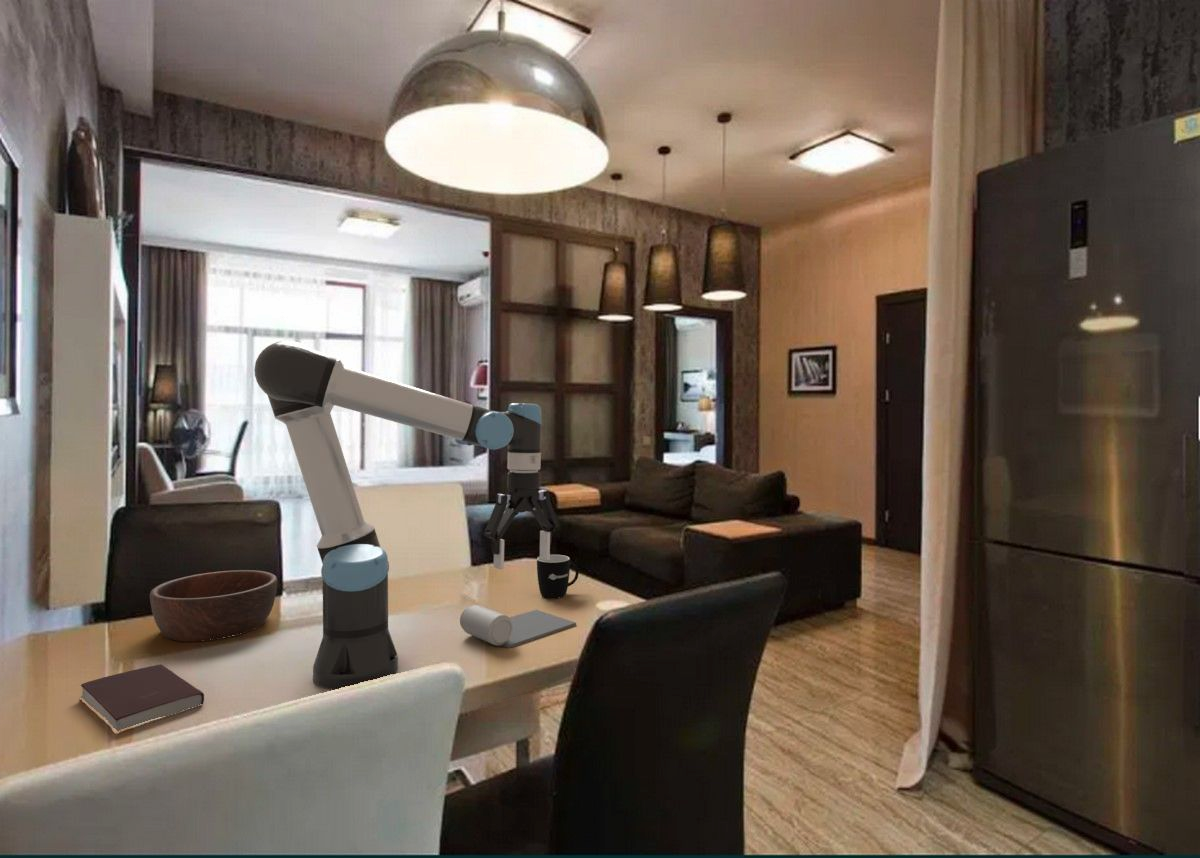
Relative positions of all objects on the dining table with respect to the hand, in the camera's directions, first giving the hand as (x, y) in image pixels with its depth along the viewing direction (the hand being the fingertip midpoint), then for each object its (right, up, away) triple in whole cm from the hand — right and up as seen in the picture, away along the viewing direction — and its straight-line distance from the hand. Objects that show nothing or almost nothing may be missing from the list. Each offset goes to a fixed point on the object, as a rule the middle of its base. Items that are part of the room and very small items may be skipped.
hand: (522, 563), depth 146 cm
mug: (+6, -15, +28) cm, 32 cm away
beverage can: (-3, -12, -12) cm, 17 cm away
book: (-61, -17, -37) cm, 73 cm away
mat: (0, -15, +1) cm, 15 cm away
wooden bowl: (-70, -15, +1) cm, 72 cm away
